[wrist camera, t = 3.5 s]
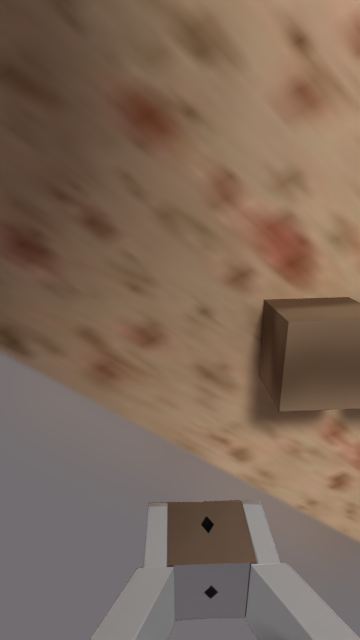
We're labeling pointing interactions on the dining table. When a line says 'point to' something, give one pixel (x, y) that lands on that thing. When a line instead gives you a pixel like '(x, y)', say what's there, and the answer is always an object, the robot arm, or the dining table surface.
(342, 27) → the dining table surface
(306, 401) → the brown block
